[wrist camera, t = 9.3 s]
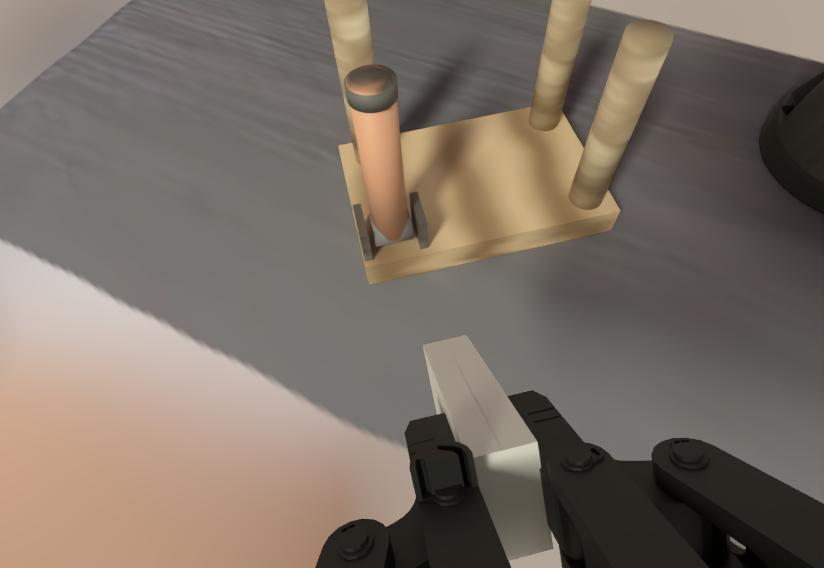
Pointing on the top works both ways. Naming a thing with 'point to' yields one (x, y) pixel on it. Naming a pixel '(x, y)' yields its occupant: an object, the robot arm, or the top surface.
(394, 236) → the folding leg
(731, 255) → the top surface
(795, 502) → the robot arm
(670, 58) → the top surface
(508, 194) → the stool
